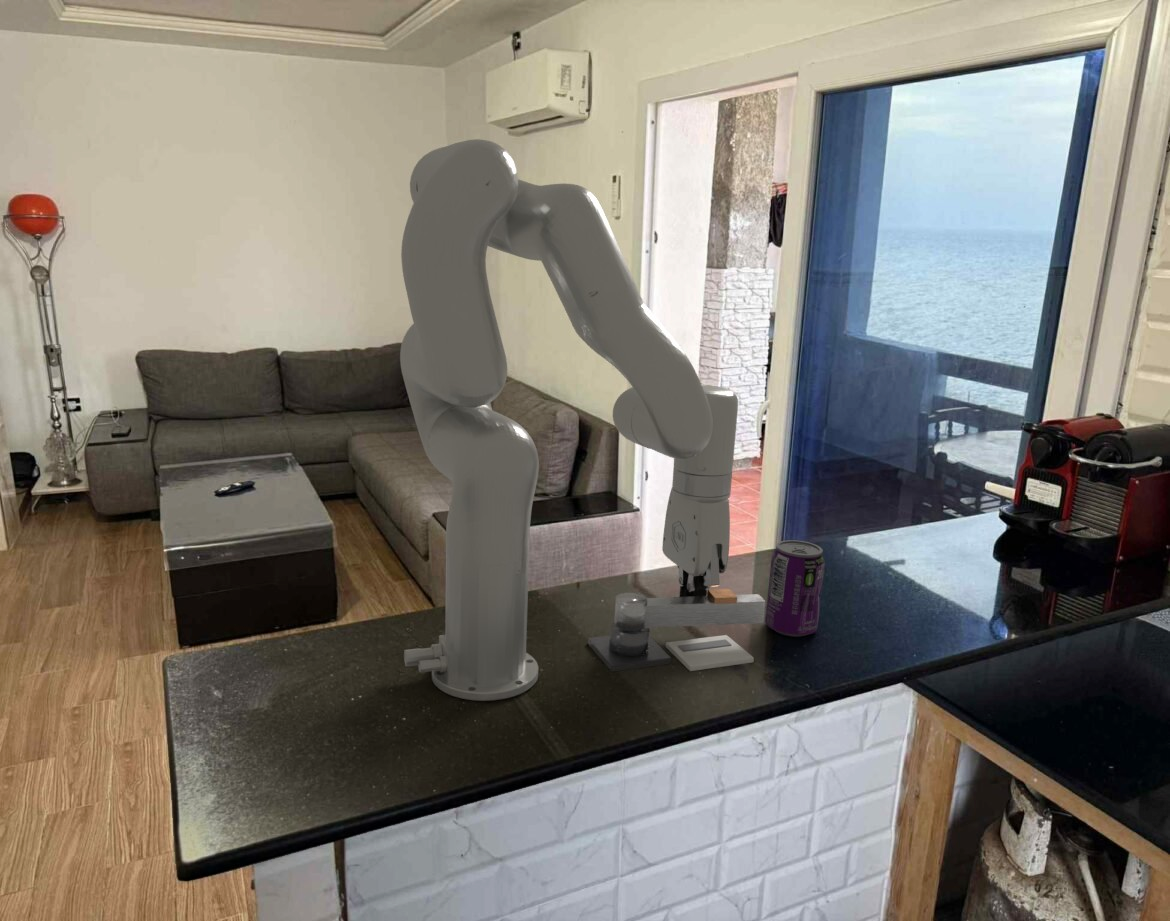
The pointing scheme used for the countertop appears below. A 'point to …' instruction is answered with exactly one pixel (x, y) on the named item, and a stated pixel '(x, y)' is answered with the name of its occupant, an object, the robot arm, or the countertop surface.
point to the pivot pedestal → (628, 649)
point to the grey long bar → (687, 610)
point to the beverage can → (795, 588)
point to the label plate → (708, 652)
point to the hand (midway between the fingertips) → (691, 614)
